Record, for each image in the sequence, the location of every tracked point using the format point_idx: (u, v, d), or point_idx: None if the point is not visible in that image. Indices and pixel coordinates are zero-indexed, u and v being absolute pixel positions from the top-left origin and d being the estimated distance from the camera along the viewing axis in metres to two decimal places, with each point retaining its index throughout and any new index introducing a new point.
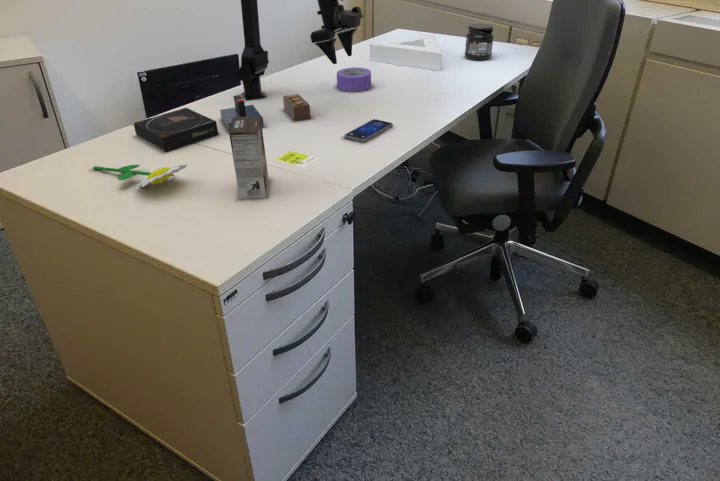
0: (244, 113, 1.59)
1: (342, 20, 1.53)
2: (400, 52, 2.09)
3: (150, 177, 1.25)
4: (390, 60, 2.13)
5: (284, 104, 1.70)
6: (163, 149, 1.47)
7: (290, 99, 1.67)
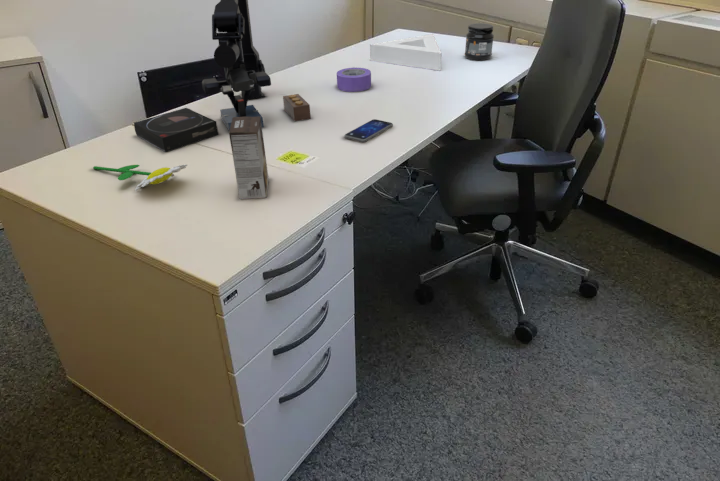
0: (244, 113, 1.59)
1: (230, 80, 1.51)
2: (400, 52, 2.09)
3: (150, 177, 1.25)
4: (390, 60, 2.13)
5: (284, 104, 1.70)
6: (163, 149, 1.47)
7: (290, 99, 1.67)
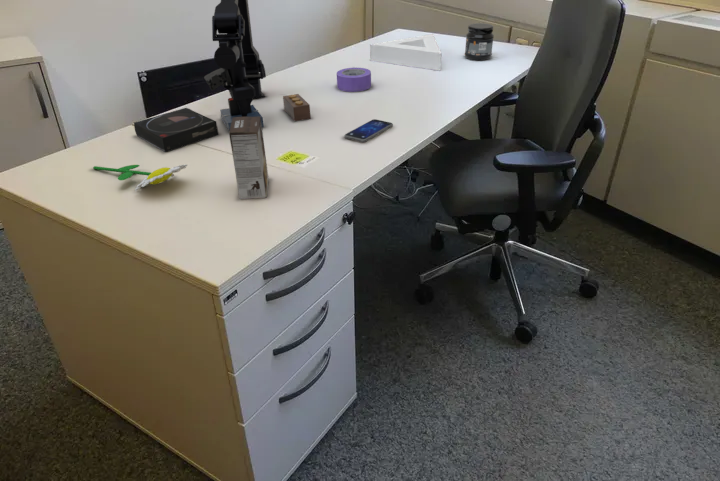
0: (230, 112, 1.60)
1: None
2: (400, 52, 2.09)
3: (150, 177, 1.25)
4: (390, 60, 2.13)
5: (284, 104, 1.70)
6: (163, 149, 1.47)
7: (290, 99, 1.67)
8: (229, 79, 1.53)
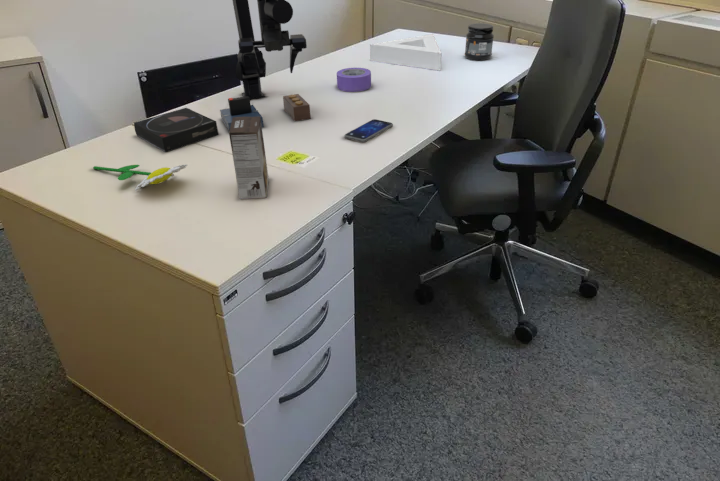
0: (230, 112, 1.60)
1: (263, 39, 1.50)
2: (400, 52, 2.09)
3: (150, 177, 1.25)
4: (390, 60, 2.13)
5: (284, 104, 1.70)
6: (163, 149, 1.47)
7: (290, 99, 1.67)
8: None
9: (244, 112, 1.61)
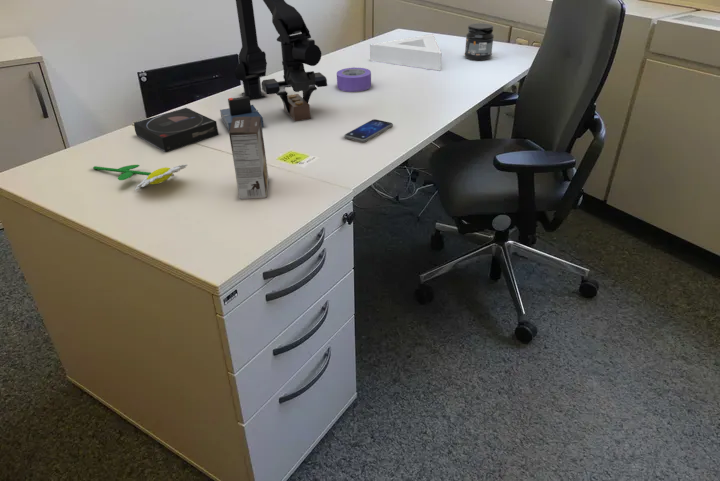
0: (230, 112, 1.60)
1: (290, 80, 1.58)
2: (400, 52, 2.09)
3: (150, 177, 1.25)
4: (390, 60, 2.13)
5: None
6: (163, 149, 1.47)
7: (290, 99, 1.67)
8: None
9: (244, 112, 1.61)
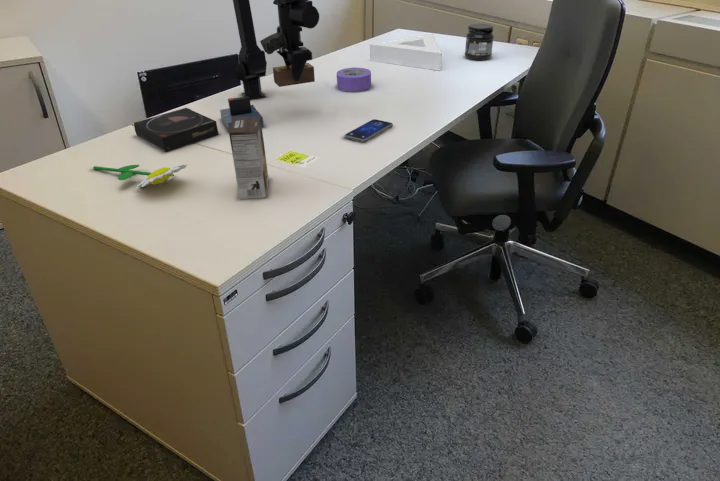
0: (230, 112, 1.60)
1: None
2: (400, 52, 2.09)
3: (150, 177, 1.25)
4: (390, 60, 2.13)
5: None
6: (163, 149, 1.47)
7: None
8: (286, 43, 1.54)
9: (244, 112, 1.61)
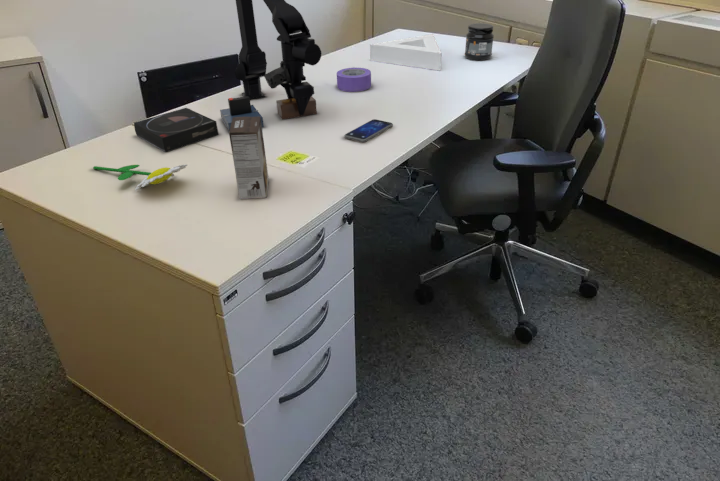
0: (230, 112, 1.60)
1: None
2: (400, 52, 2.09)
3: (150, 177, 1.25)
4: (390, 60, 2.13)
5: None
6: (163, 149, 1.47)
7: None
8: (289, 78, 1.59)
9: (244, 112, 1.61)
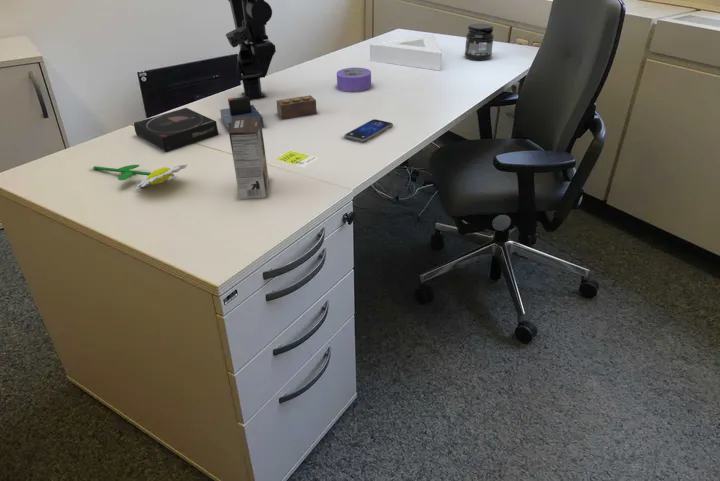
0: (230, 112, 1.60)
1: None
2: (400, 52, 2.09)
3: (150, 177, 1.25)
4: (390, 60, 2.13)
5: None
6: (163, 149, 1.47)
7: (299, 98, 1.68)
8: (250, 36, 1.57)
9: (244, 112, 1.61)
